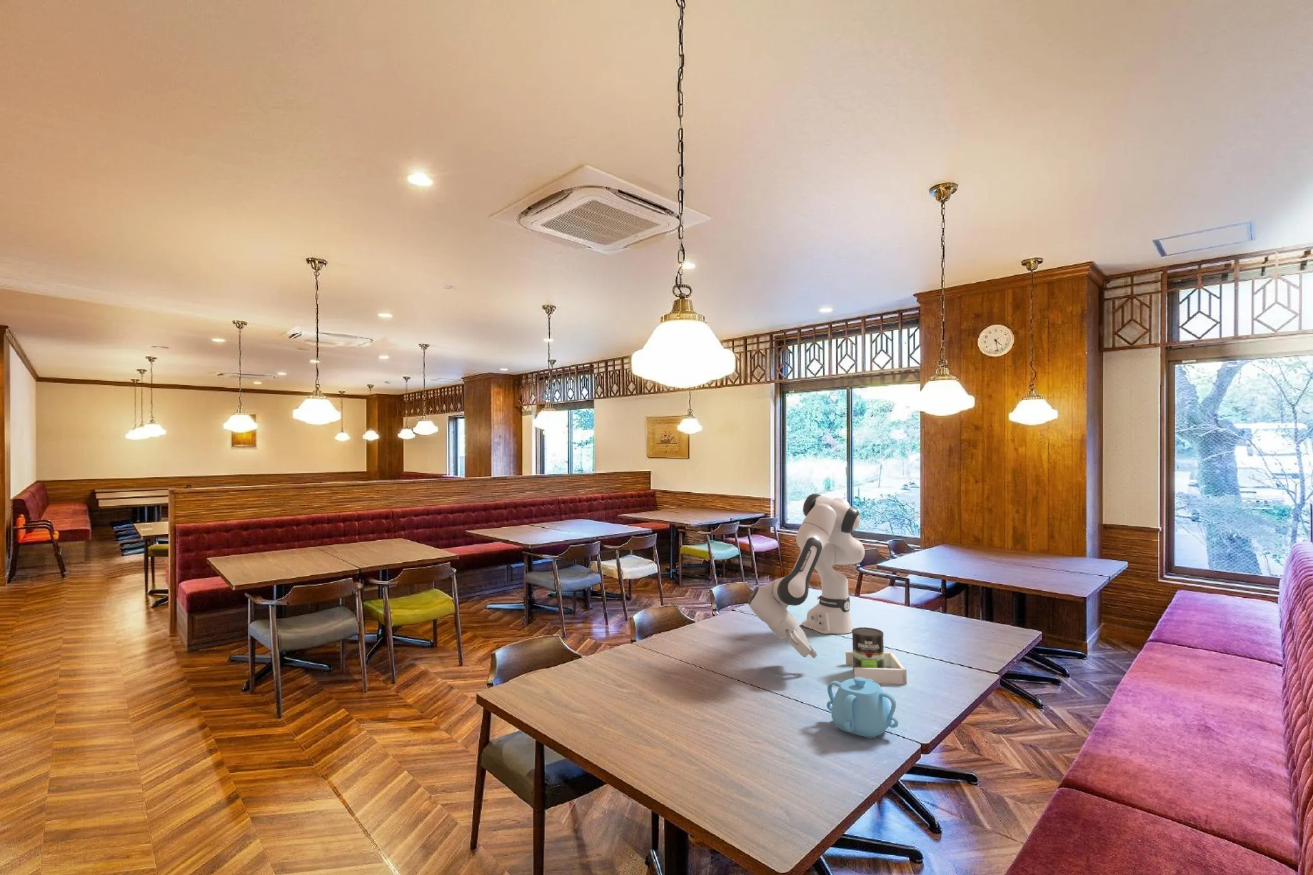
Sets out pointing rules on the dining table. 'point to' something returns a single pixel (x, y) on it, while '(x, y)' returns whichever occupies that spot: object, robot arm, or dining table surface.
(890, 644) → the dining table surface
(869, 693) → the decorative pot
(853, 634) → the coffee can
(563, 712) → the dining table surface
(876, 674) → the box
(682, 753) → the dining table surface
